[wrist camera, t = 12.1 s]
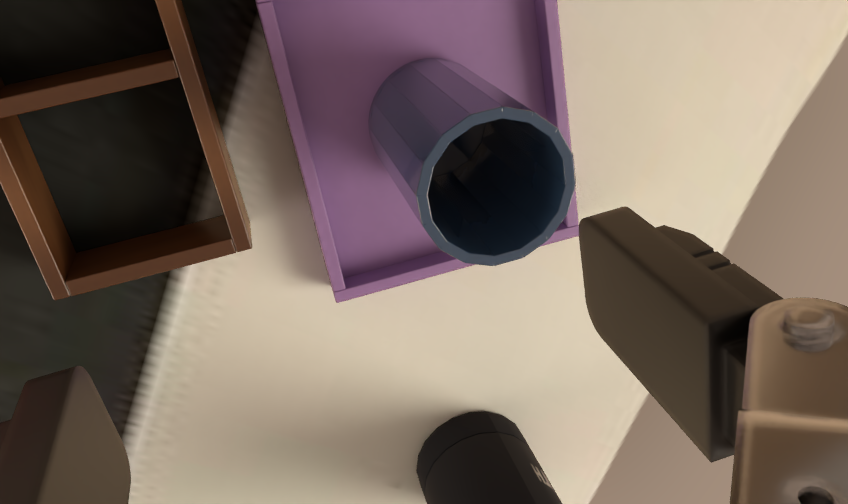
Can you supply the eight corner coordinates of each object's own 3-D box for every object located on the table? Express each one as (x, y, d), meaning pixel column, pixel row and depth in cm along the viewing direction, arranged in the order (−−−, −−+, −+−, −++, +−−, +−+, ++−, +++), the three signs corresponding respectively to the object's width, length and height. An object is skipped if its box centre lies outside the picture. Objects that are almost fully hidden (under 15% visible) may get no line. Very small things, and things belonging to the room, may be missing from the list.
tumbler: (355, 73, 33) (403, 131, 24) (480, 44, 33) (567, 90, 25) (381, 193, 35) (433, 283, 27) (496, 163, 36) (582, 241, 28)
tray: (250, -17, 31) (252, -13, 29) (533, -78, 33) (550, -77, 31) (331, 286, 37) (336, 303, 36) (565, 222, 39) (580, 235, 37)
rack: (-106, -120, 27) (-142, -123, 24) (131, -164, 28) (122, -171, 25) (66, 270, 34) (53, 301, 31) (250, 223, 35) (252, 248, 32)
